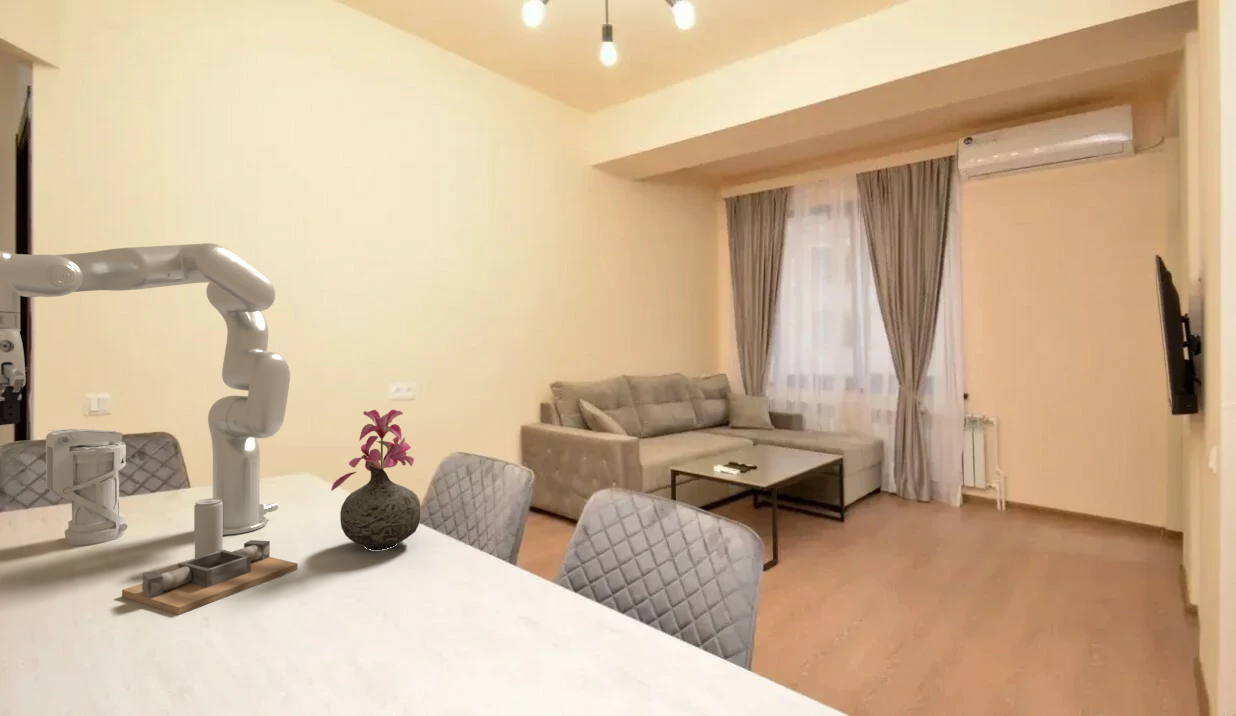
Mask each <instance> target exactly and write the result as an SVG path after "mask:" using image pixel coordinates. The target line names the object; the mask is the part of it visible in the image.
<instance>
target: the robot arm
mask: <svg viewBox="0 0 1236 716" xmlns="http://www.w3.org/2000/svg"><path fill="white" fill-rule="evenodd" d="M199 283H202V284H205V283H208V284H207V286H206V292H205V293H206V296H207V299H208V301H209V303H210V305H212V307H213V308H215V309H216V310H217V311H218V313H219V314H220V315H221V317H222V318H223V321H224V322H225V325H226V328H227V335H226V345H225V350H224V355H223V357H224V358H223V363H222V369H221V378H222V381H223V382H224V384H225V385H226V386H227V387H229V388H230V389H234V390H238V391H247V392H248V393H247V395H227V396H224V397H221V398H220V399H217V400H216V401H215V402H214V403H213V404H212V405H211V407H210V408H209V411H208V416H207V424H208V429H209V433H210V437H211V444H212V445H211V447H212V498H219V499H222V501H221V502H222V503H223V536H224V535H225V536H226V535H236V534H237V535H238V534H243V533H249V532H252V531H255V530H259V529H261V528H263V527H265V526H266V525H267V524H268V523H267V521H268V520H267V517H265V515H266V514H267V513H271V512H275V511H278V509H279V505H278V504H277V503H276V502H274V503H270V504H267V505H266V504H265V503H263V504H262V503H261V502H260V495H261V494H260V489H261V488H260V481H261V480H260V478H261V476H260V475H261V474H260V473H261V472H260V471H261V468H260V465H261V464H260V461H261V453H260V446H259V443H258V439H268V438H270V437H272V436H274V435H275V434H277V433H278V432H279V430H280V429H281V428H282V426H283V423H284V420H285V416H286V411H287V402H288V395H289V388H290V380H291V379H290V378H291V372H290V368H289V364H288V362H287V360H286V359H285V358H284V357H283V356H281V354H278V353H275V352H272V351H268V344H269V343H268V342H269V327H268V324H267V320H266V318H265V316H264V315H263V313H262V312H264V311H266V310H268V309H270V307H271V306H273V304H274V302H275V299H276V291H275V287H274V285H273V284H272V283H271V281H270V280H269V279H268V278H267V277H266V276H264V274H262V273H260V272H259V271H258V270H257V269H255V268H254V267H253V266H251V265H250V264H249V263H247V262H246V261H244V260H243V259H242V258H240V257H239V256H238V255H237V254H235V253H234V252H232V251H230V250H229V249H227V248H225V247H224V246H221V245H220V244H216V243H214V242H213V243H212V242H208V243H194V244H193V243H192V244H191V243H190V244H173V245H157V246H155V245H154V246H136V247H119V248H110V249H104V250H97V251H90V252H89V251H88V252H77V253H63V254H25V253H24V254H23V253H19V254H18V253H12V252H9V251H5V250H4V251H3V250H0V426H6V425H7V426H8V425H17V424H19V423H20V422H21V400H22V398H23V397H22V393H23V390H24V386H25V385H26V364H25V352H24V346H23V341H22V336H21V333H20V332H21V297H26V298H36V297H37V298H39V297H41V298H42V297H43V298H44V297H45V298H47V297H48V298H49V297H51V298H53V297H54V298H55V297H63V296H67V295H70V294H72V293H79V292H92V291H111V292H112V291H114V292H115V291H119V292H120V291H134V290H135V291H136V290H145V289H146V290H147V289H152V288H162V287H170V286H173V287H174V286H180V285H181V286H182V285H189V284H199Z"/></svg>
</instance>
